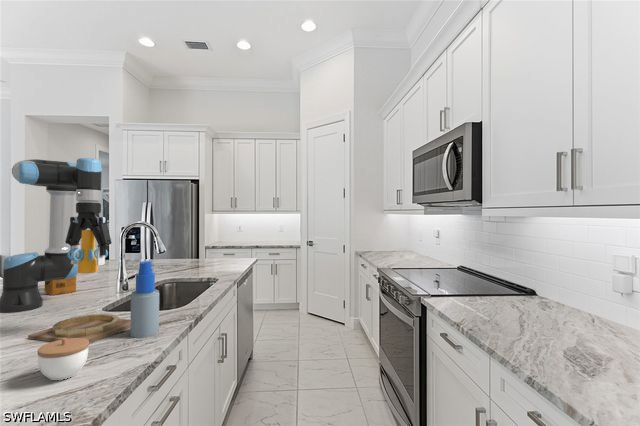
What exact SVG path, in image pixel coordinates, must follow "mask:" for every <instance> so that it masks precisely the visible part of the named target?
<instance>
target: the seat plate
mask: <svg viewBox="0 0 640 426" xmlns="http://www.w3.org/2000/svg"><path fill="white" fill-rule="evenodd" d="M109 322H111V321H104V320H98V321H87V322H81V323H75V324H72V325H69V326H66V327H63V328H62V329H86V328H91V327H96V326H101V325H104V324H107V323H109ZM130 327H131V319H127V318H119V324H118V325H117V326H116V328H113V329H111V330H108V331H105V332H102V333H97V334H93V335H88V336H78V337H62V336H55V335H54V333H53V326H52V327H50V328H45V329H43V330H41V331H37V332H34V333H30V334H27V339H28V340H34V341H43V342H48V343H50V342H54V341H57V340H62V339H63V338H67V339H69V338H84V339H87V340H89V345H90V343H91V344H93V343H95V342H98V341H101V340H103V339H105V338H108V337H109V336H112V335H115V334H117V333H120V332H123V331H124V330H127V329H130Z"/></svg>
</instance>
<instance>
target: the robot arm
mask: <svg viewBox="0 0 640 426" xmlns="http://www.w3.org/2000/svg"><path fill="white" fill-rule="evenodd" d="M102 171H103V169H102V162H101V160H99V159H96V158H88V157H79V158H77V160H76V162H71V161H70V162H69V161H60V160H59V161H57V160H47V159H38V158H37V159H25V160H20V161H17V162H16V163H15V164H13V166H12V168H11V174H12V177H13V178H14V179H15V180H16V181H17V182H18V183H20V184H21V185H24V184H25V185H29V186H36V187H45V189H46V192H47V193H48V194H49V196H50V199H49V201H50V203H49V205H50V206H49V230H48V231H49V233H48V234H49V235H48V236H49V237H48V240H49V241H48V247H47V248H46V249H45V250H44V254H42V255H41V254H39V252H34V251H33V252H24V253H19V254H18V253H17V254H13V255H9V256H6V257H5V258H4V259H3V264H2V268H1V269H2V270H3V271H2V292H1V295H0V313H16V312H18V313H19V312H24V311H30V310H35V309H38V308H41V307H42V306H43V303H44V300H43V298H42V297H43V296H42V295H41V292H40V289H39V282H45V281H51V280H61V279H62V280H64V279H69V278H73V277H75V276H76V277H77V275H78V274H79V273H78V261H75V260H71V259H69V258H68V252H69V250H71V249H73V248H77V249H81V245H80V242H81V236H82V230H92V232H93V234H94V236H95V242H97V246H96V247H97V265H98V266H103V265H106V258H105V255H106V250H107V246H110V245H111V244H112V238H111V234H110V232H109V227H108V217H107V216H103V217H102V216H100V214H101V212H102V203H101V201H102ZM74 196H75V200H76V203H75V213H77V214H78V215H77V216H74ZM73 252H74V251H72V252H71V253H70V256H71V257H72V255H73ZM78 256H79V252H78V251H77V252H76V254H75V257H76V258H77V257H78ZM72 258H73V257H72Z"/></svg>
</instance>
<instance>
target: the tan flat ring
mask: <svg viewBox="0 0 640 426" xmlns="http://www.w3.org/2000/svg"><path fill="white" fill-rule="evenodd" d="M119 319H120V317H119V316H117V315H116V314H108V313H96V314H95V313H93V314H85V315H80V316H73V317H70V318H67V319H63V320H61V321H58V322H57V323H55V324H54V325H52V327H53V333H54V335H55V336H62V337H78V336H88V335H93V334H97V333H102V332H105V331H108V330H111V329H113V328H116V326H117V325H118V324H119ZM98 320H104V321H111V322H109V323H107V324H104V325H101V326H96V327H91V328H86V329H62V328H63V327H66V326H69V325H72V324H75V323H81V322H87V321H98Z"/></svg>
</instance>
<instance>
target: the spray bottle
mask: <svg viewBox="0 0 640 426" xmlns="http://www.w3.org/2000/svg"><path fill="white" fill-rule="evenodd" d="M152 263H153V262H152V260H143V261H139V268H138V273H136V274H135V290H134V291H132V292H131V295H130V320H131V327H130V328H129V329H130V330H129V331H130V332H129V333H130V335H129V336H130V337H131V338H138V339H143V338H149V337H153V336H155V335H157V334H159V333H160V291H159V290H158V289H156V288H155V285H156V283H155V282H156V278H155V277H156V274H155V272H153V267H152V265H153V264H152Z"/></svg>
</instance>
